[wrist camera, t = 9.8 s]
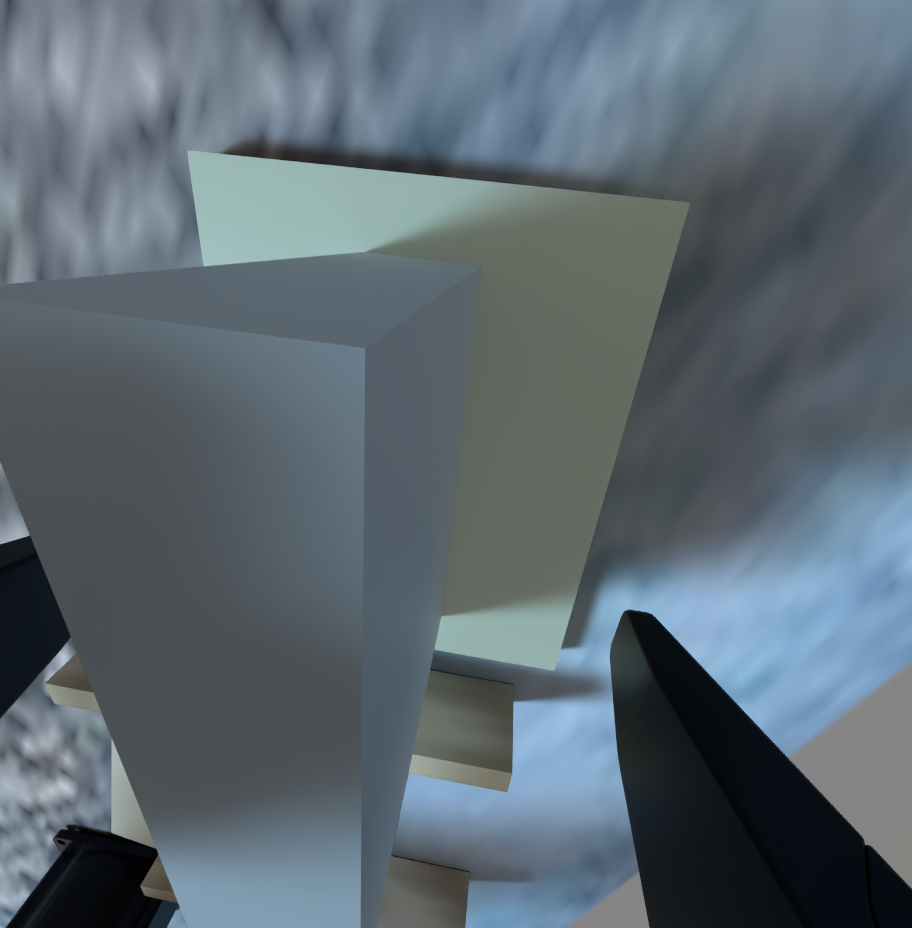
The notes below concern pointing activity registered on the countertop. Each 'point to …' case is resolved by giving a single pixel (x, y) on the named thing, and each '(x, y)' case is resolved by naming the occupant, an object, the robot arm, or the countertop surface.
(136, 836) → the ash offcut
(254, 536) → the white rectangular slab
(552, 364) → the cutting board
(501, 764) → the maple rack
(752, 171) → the countertop surface
